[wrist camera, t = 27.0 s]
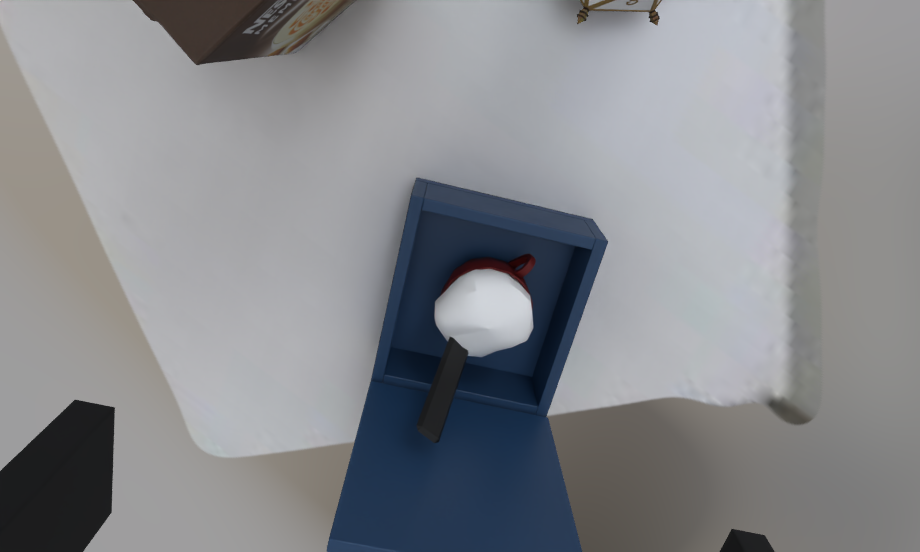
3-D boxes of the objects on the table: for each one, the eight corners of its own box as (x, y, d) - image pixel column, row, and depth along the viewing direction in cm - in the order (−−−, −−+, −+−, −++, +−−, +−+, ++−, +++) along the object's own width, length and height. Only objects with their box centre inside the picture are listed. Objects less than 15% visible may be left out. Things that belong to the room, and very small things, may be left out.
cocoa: (522, 226, 42) (544, 297, 30) (555, 301, 44) (587, 394, 33) (399, 278, 43) (377, 365, 32) (437, 349, 45) (428, 453, 34)
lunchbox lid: (328, 538, 28) (306, 645, 30) (591, 587, 29) (551, 686, 31) (370, 380, 41) (353, 461, 43) (548, 417, 42) (522, 494, 44)
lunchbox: (416, 177, 41) (411, 195, 37) (593, 219, 42) (608, 241, 38) (379, 348, 46) (370, 382, 42) (538, 381, 47) (545, 418, 43)
